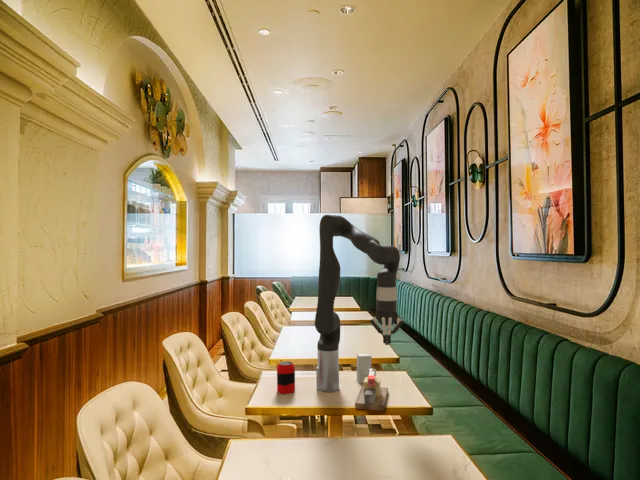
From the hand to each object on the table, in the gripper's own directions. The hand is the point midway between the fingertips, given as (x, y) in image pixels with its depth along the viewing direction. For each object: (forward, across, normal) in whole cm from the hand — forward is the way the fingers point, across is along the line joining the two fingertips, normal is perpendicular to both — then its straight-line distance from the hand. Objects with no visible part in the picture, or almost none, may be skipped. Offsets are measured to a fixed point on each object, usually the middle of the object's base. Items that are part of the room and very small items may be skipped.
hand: (386, 344), depth 157 cm
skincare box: (+25, +10, -31) cm, 41 cm away
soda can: (+25, +43, -14) cm, 52 cm away
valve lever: (+15, +6, -4) cm, 17 cm away
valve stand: (+25, +6, -9) cm, 27 cm away
